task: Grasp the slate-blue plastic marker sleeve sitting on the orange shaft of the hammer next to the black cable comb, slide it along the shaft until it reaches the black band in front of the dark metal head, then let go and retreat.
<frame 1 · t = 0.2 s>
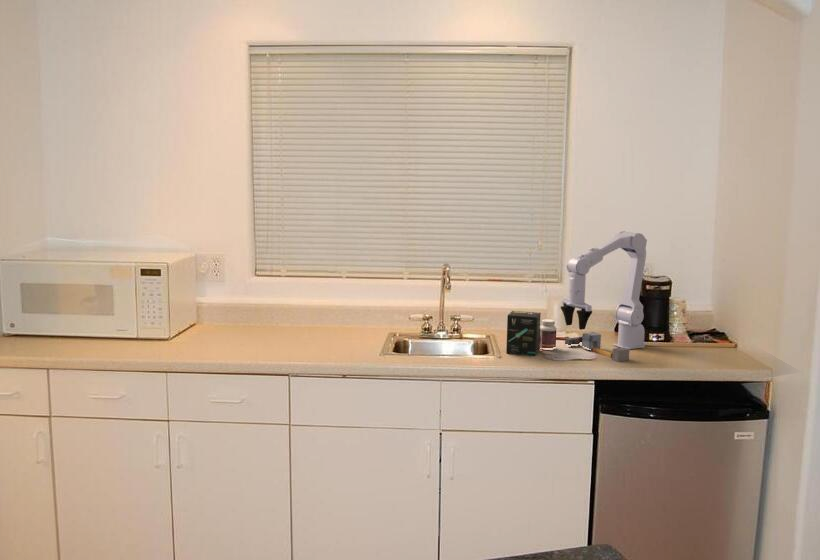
hand: (575, 327, 263), 10 cm above the countertop, fingers open, 7 cm apart
hammer: (596, 351, 267), on the countertop
comb: (579, 345, 276), on the countertop
pill bottle: (547, 349, 269), on the countertop
sleeve: (591, 341, 269), point 3 cm above the countertop, slide at 0.0 cm
tampon box: (522, 352, 265), on the countertop
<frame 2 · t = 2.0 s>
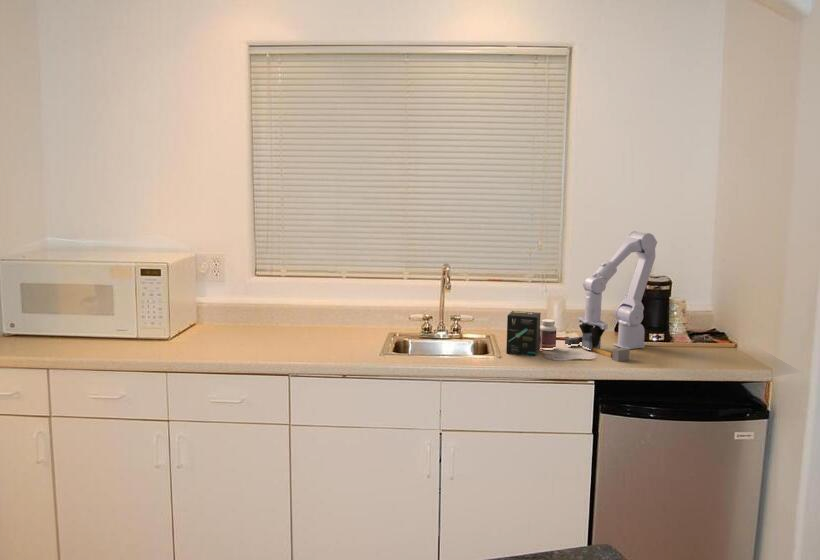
hand: (591, 344, 269), 2 cm above the countertop, fingers closed on sleeve, 4 cm apart
sleeve: (591, 341, 269), point 3 cm above the countertop, slide at 0.0 cm, touching gripper
everything else where it was.
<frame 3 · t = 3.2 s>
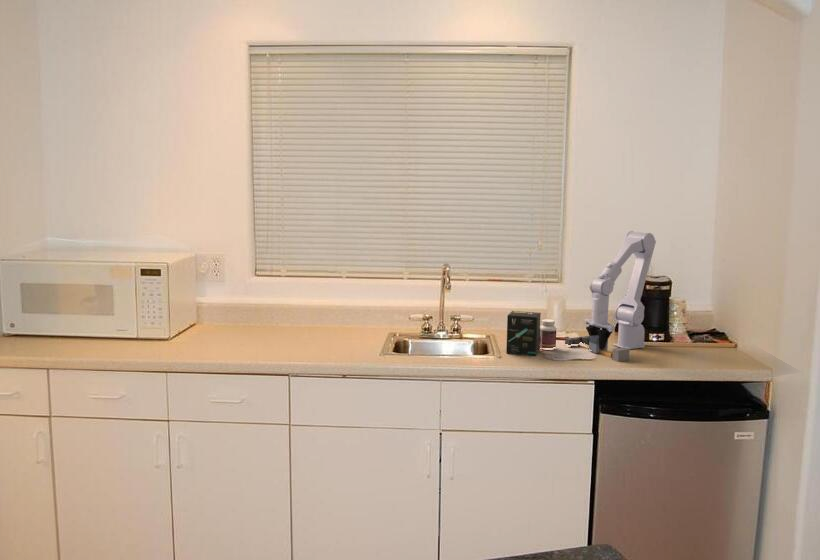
hand: (598, 346, 266), 2 cm above the countertop, fingers closed on sleeve, 4 cm apart
sleeve: (598, 343, 266), point 3 cm above the countertop, slide at 3.9 cm, touching gripper
everything else where it was.
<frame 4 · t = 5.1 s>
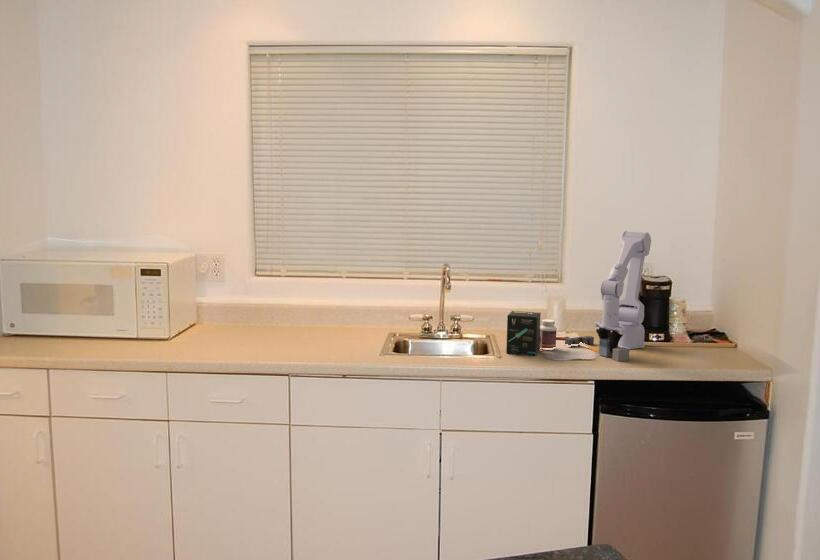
hand: (608, 349, 261), 2 cm above the countertop, fingers closed on sleeve, 4 cm apart
sleeve: (608, 347, 261), point 3 cm above the countertop, slide at 9.5 cm, touching gripper
everything else where it was.
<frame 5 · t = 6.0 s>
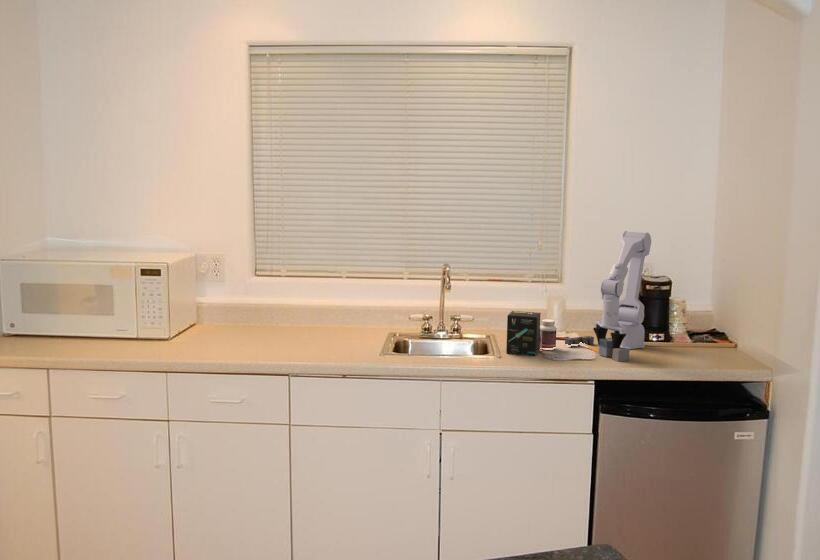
hand: (608, 349, 261), 2 cm above the countertop, fingers open, 7 cm apart
sleeve: (608, 347, 261), point 3 cm above the countertop, slide at 9.5 cm
everything else where it was.
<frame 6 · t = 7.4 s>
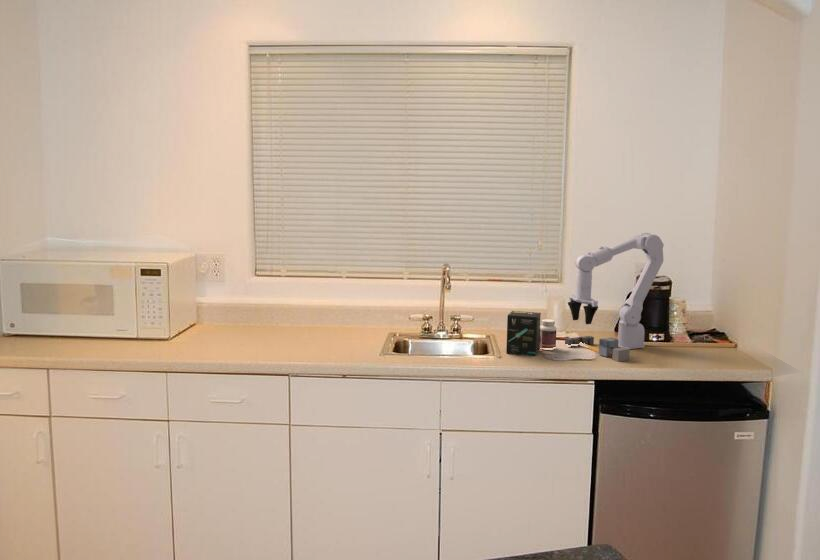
hand: (581, 321, 274), 9 cm above the countertop, fingers open, 7 cm apart
nothing on the countertop moved.
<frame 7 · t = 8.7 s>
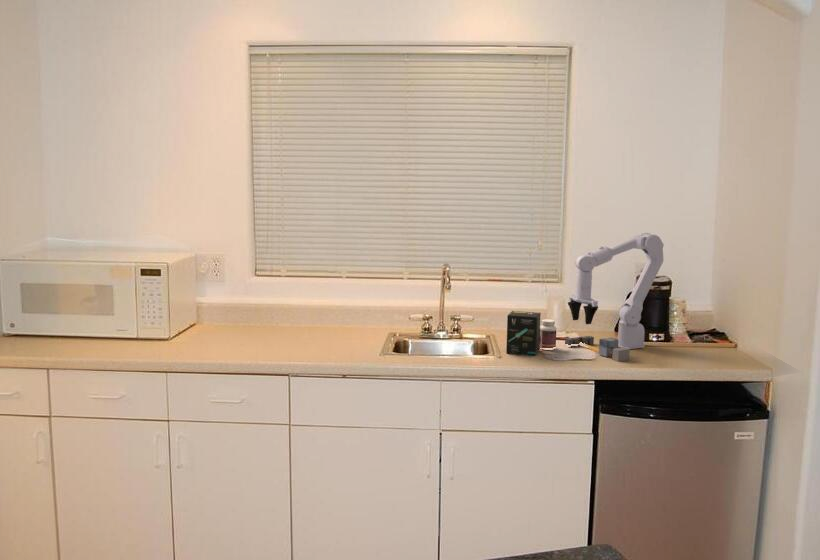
hand: (581, 321, 274), 9 cm above the countertop, fingers open, 7 cm apart
nothing on the countertop moved.
at the end: sleeve slide at 9.5 cm; the gripper is holding nothing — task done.
